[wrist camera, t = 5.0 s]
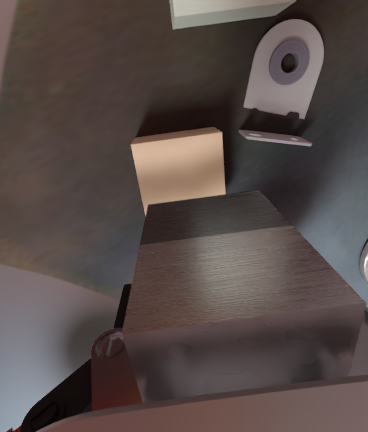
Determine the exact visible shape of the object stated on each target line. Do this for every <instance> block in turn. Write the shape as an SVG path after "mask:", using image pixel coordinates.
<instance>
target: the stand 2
mask: <svg viewBox="0 0 368 432" xmlns="http://www.w3.org/2000/svg"><path fill="white" fill-rule="evenodd" d="M169 1H170V10H171V18H172V27H173V29H179V28H186V27H194V26H201V25H209V24H217V23H224V22H232V21H239V20H247V19H254V18H262V17H270V16H275V15H277V14H278V13H280V12H281V11H283V10H284V9H286V8H287V7H288V6H290V5H291V4H293V3H294V2H296V0H169Z"/></svg>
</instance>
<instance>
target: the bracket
mask: <svg viewBox="0 0 368 432" xmlns="http://www.w3.org/2000/svg"><path fill="white" fill-rule="evenodd" d="M288 53H291V54H292V55H293V56H294V57H295V66H294V68H293V69H292V70H291V71H290V72H288V73H285V72H283V70H282V68H281V61H282V59H283V57H284V56H285V55H286V54H288ZM323 58H324V47H323V41H322V38H321V36H320V34H319V32H318V31H317V29H316V28H315V27H314V26H313V25H312V24H310V23H309V22H307V21H304V20H300V19H291V20H286V21H283V22H281V23H279V24H277V25H275V26H274V27H273V28H271V29H270V30H269V31H268V32H267V33H266V34H265V35H264V36H263V38H262V39H261V41H260V42H259V44H258V46H257V49H256V51H255V54H254V58H253V62H252V67H251V71H250V76H249V82H248V87H247V92H246V97H245V102H244V107H245V108H250V109H253V108H257V109H258V110H260V111H266V112H271V113H276V114H281V115H287V113H288V112H290V111H292V112H298V113H299V118H301V119H305V116H306V113H307V110H308V107H309V104H310V101H311V97H312V94H313V91H314V88H315V85H316V82H317V79H318V76H319V73H320V70H321V67H322V63H323ZM239 133H240V134H241V135H242V136H244V137H245V138H246V139H251V140H259V141H268V142H277V143H286V144H295V145H303V146H311V145H312V143H311V142H309V141H307V140H305V139H303V138H301V137H298V136H292V135H283V134H275V133H266V132H257V131H249V130H239Z"/></svg>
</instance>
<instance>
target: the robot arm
mask: <svg viewBox="0 0 368 432" xmlns="http://www.w3.org/2000/svg"><path fill="white" fill-rule="evenodd" d="M360 270H361V273H362V275H363V278H364V279H365V280H366V281H367V282H368V242H367V244H366V245H365V247H364V249H363V252H362V255H361V258H360ZM131 286H132V284H126V285H124V288H123V292H122V296H121V300H120V304H119V308H118V312H117V316H116V320H115V324H114V328H113V329H110V330H108V331H105V332H104V333H102V334H101V335H100V336H99V337H98V338H97V339H96V340H95V341H94V343H93V345H92V349H91V359H89V360H88V361H87V362H86V363H85V364H83V365H82V366H81V367H80V368H78V369H77V370H76V371H75V372H74V373H72V374H71V375H70V376H69V377H68V378H66V379H65V380H64V381H63V382H62V383H60V384H59V385H58V386H57V387H55V388H54V389H53V390H52V391H51V392H50V393H48V394H47V395H46V396H44V397H43V398H42V399H41V400H40V401H38V402H37V403H36V404H35V405H34V406H33V407H32V408H31V409H30V411H29V412H28V413H27V415H26V416H25V418H24V420H23V423H22V425H21V426H20V427H18V428H17V429H16V430H13V428H11V429H9V430H8V431H7V432H368V308H367V307H366V306H365V310H364V314H363V319H362V323H361V327H360V332H359V336H358V340H357V345H356V349H355V354H354V358H353V362H352V367H351V371H350V372H348V375H347V377H342V378H334V379H326V380H317V381H309V382H301V383H293V384H285V385H277V386H269V387H261V388H253V389H245V390H237V391H229V392H221V393H213V394H206V395H198V396H191V397H183V398H176V399H168V400H160V401H153V402H146V403H145V401H144V398H141V394H140V391H139V388H138V385H137V382H136V378H135V375H134V372H133V369H132V366H131V363H130V359H129V356H128V353H127V350H126V347H125V344H124V340H123V337H122V330H123V325H124V320H125V315H126V310H127V305H128V301H129V296H130V291H131Z"/></svg>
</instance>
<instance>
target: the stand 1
mask: <svg viewBox="0 0 368 432" xmlns="http://www.w3.org/2000/svg"><path fill="white" fill-rule="evenodd" d="M131 148H132V153H133V158H134V163H135V167H136V172H137V177H138V182H139V187H140V192H141V196H142V201H143V206H144V211H145V216H146V213H147V208H148V205H149V204H156V203H164V202H172V201H179V200H187V199H194V198H202V197H209V196H217V195H225V176H224V158H223V140H222V132H221V131H220V130H218V129H217V128H215V127H209V128H202V129H194V130H187V131H180V132H172V133H165V134H158V135H151V136H143V137H136V138H135V139H134V140H133V142H132V144H131Z"/></svg>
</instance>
